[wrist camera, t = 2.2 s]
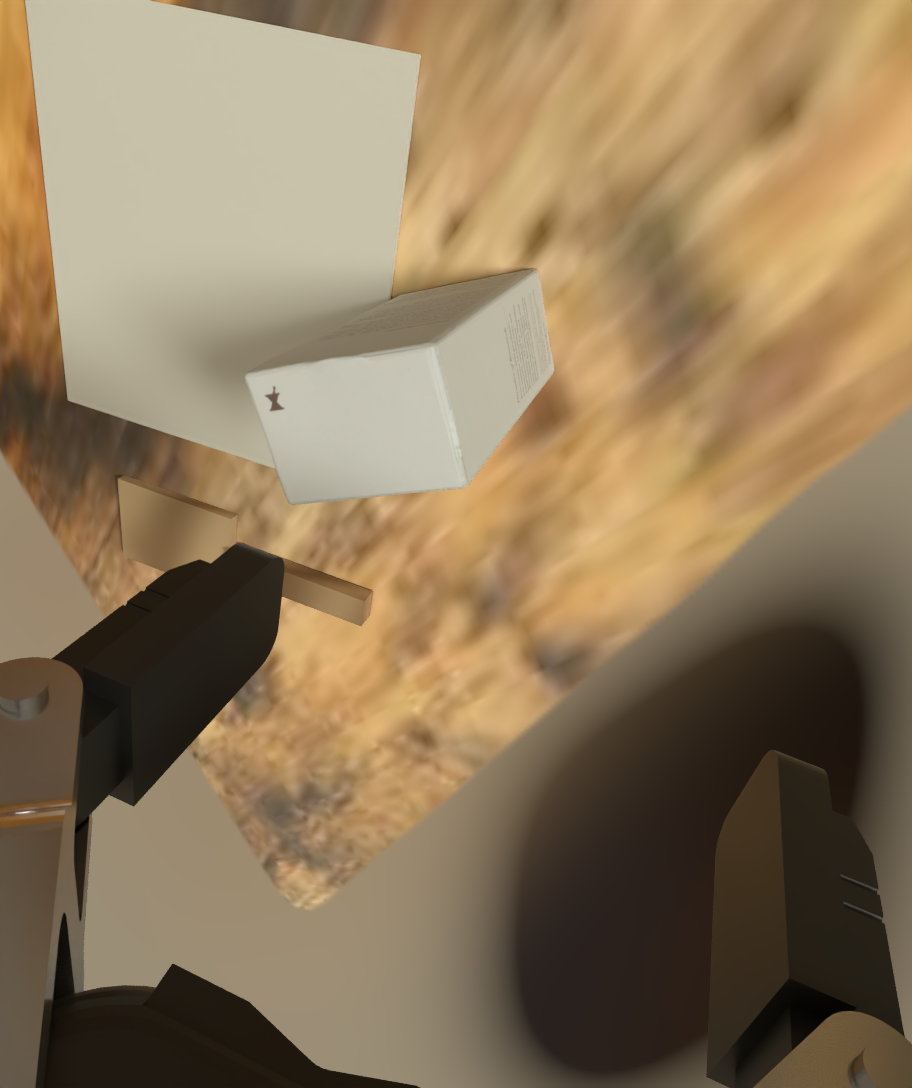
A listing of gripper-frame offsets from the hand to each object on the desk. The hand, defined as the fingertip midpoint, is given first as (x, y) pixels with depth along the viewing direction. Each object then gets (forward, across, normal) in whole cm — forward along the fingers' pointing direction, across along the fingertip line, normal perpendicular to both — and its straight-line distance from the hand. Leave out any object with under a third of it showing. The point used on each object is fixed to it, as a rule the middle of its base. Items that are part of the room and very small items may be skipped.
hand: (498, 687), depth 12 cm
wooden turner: (+21, +17, +16) cm, 31 cm away
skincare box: (+21, +7, +1) cm, 22 cm away
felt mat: (+21, +19, +1) cm, 28 cm away
